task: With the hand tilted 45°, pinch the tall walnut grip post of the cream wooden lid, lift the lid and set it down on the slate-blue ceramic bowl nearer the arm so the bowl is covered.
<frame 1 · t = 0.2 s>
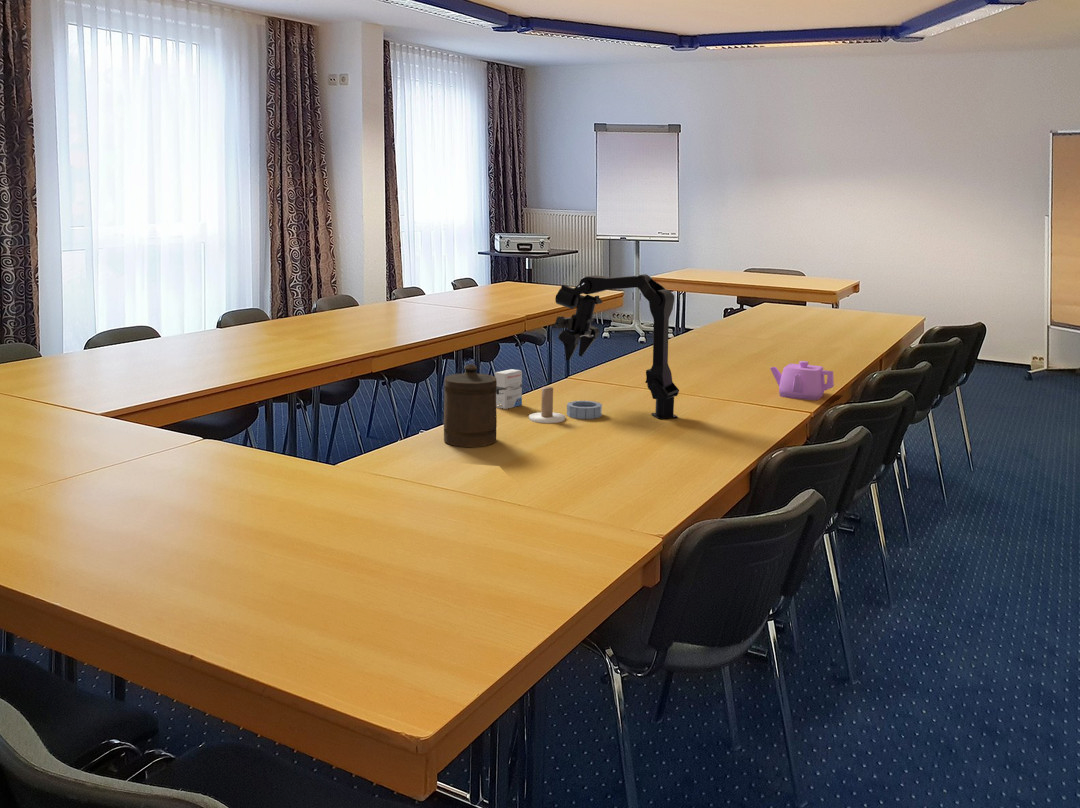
hand: (573, 358, 316), 15 cm above the table, tool pointing down, fingers open, 9 cm apart
ink box: (508, 406, 314), on the table
teakettle: (799, 396, 336), on the table
bowl: (584, 415, 303), on the table
wooden container: (470, 441, 270), on the table
lid: (546, 419, 297), on the table
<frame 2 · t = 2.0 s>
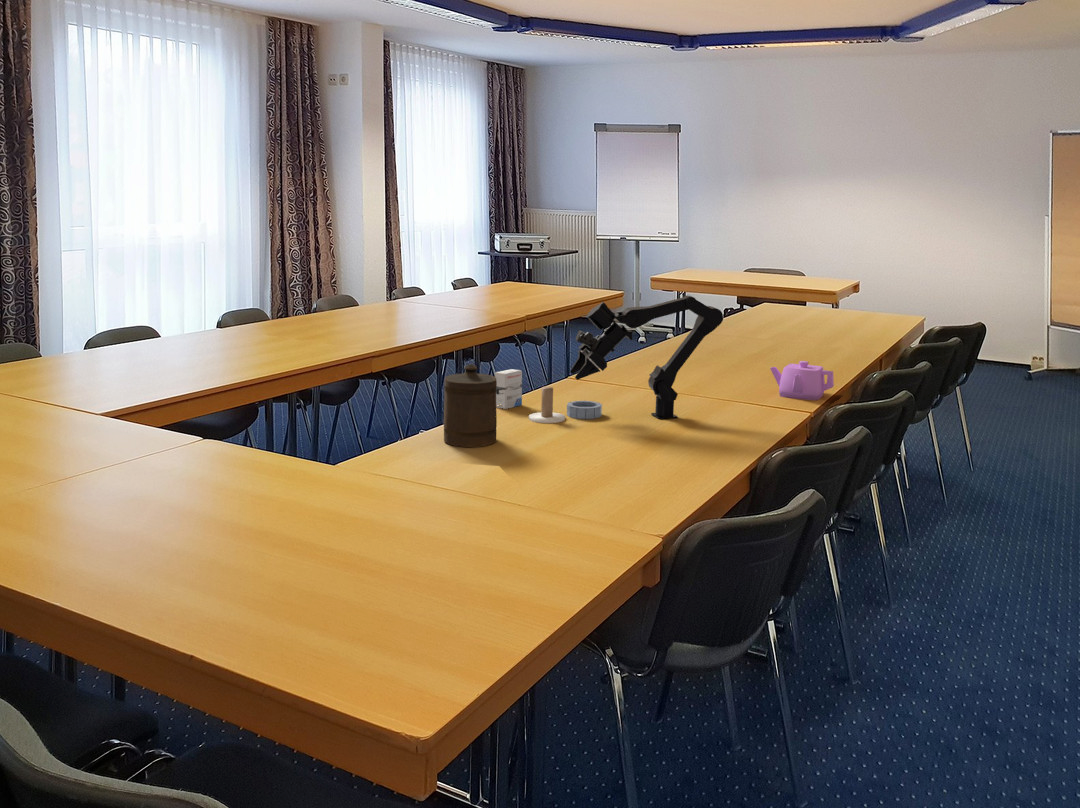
hand: (573, 375, 295), 13 cm above the table, tool tilted 45°, fingers open, 9 cm apart
nothing on the table moved.
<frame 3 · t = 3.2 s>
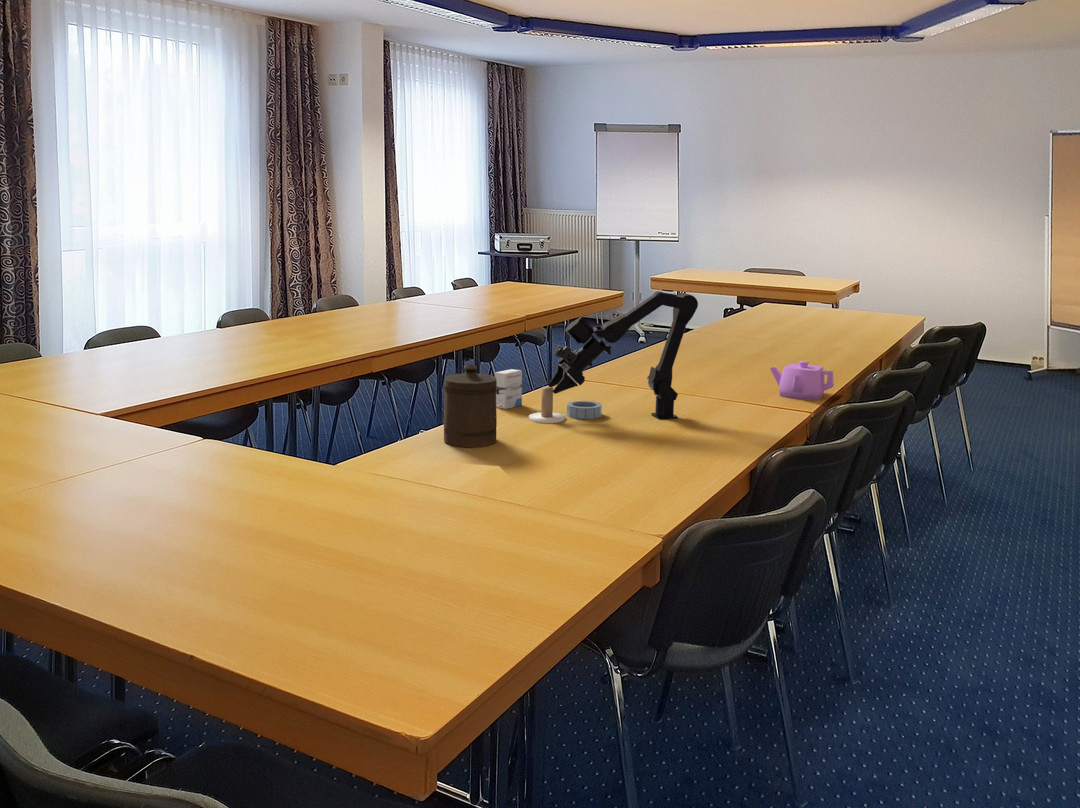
hand: (551, 389, 295), 9 cm above the table, tool tilted 45°, fingers open, 9 cm apart
nothing on the table moved.
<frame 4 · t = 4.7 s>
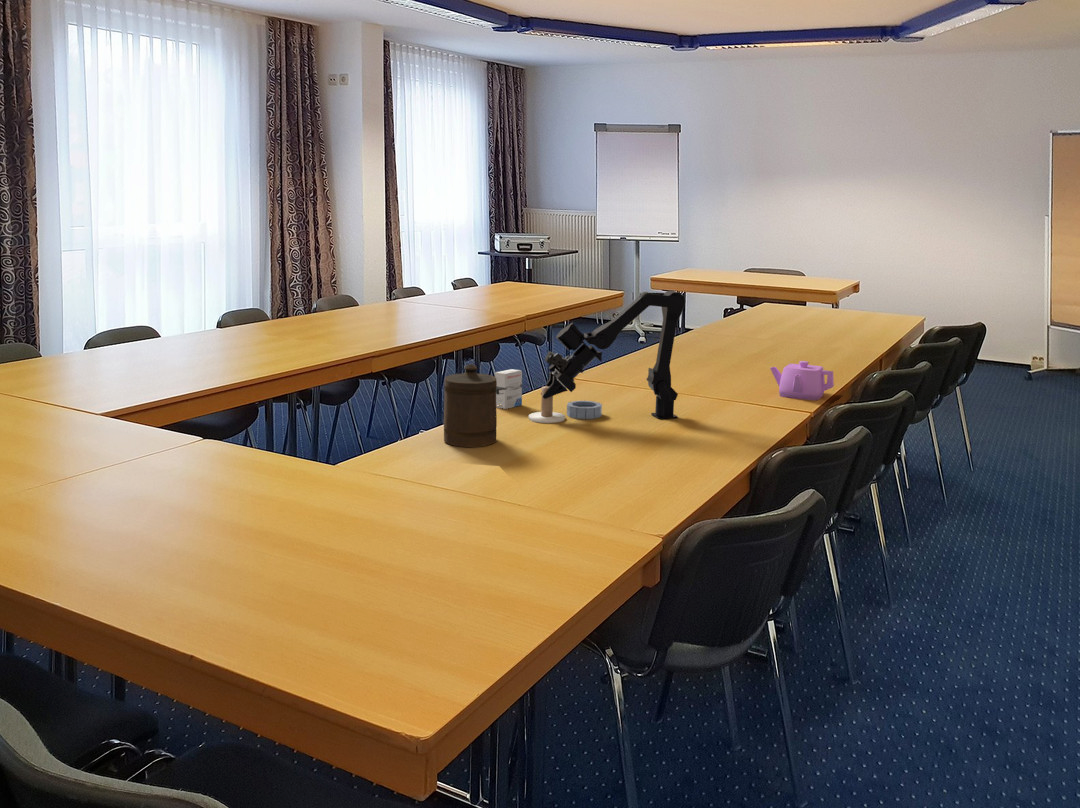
hand: (542, 396, 295), 7 cm above the table, tool tilted 45°, fingers closed on lid, 3 cm apart
lid: (546, 418, 297), on the table, touching gripper
everything else where it was.
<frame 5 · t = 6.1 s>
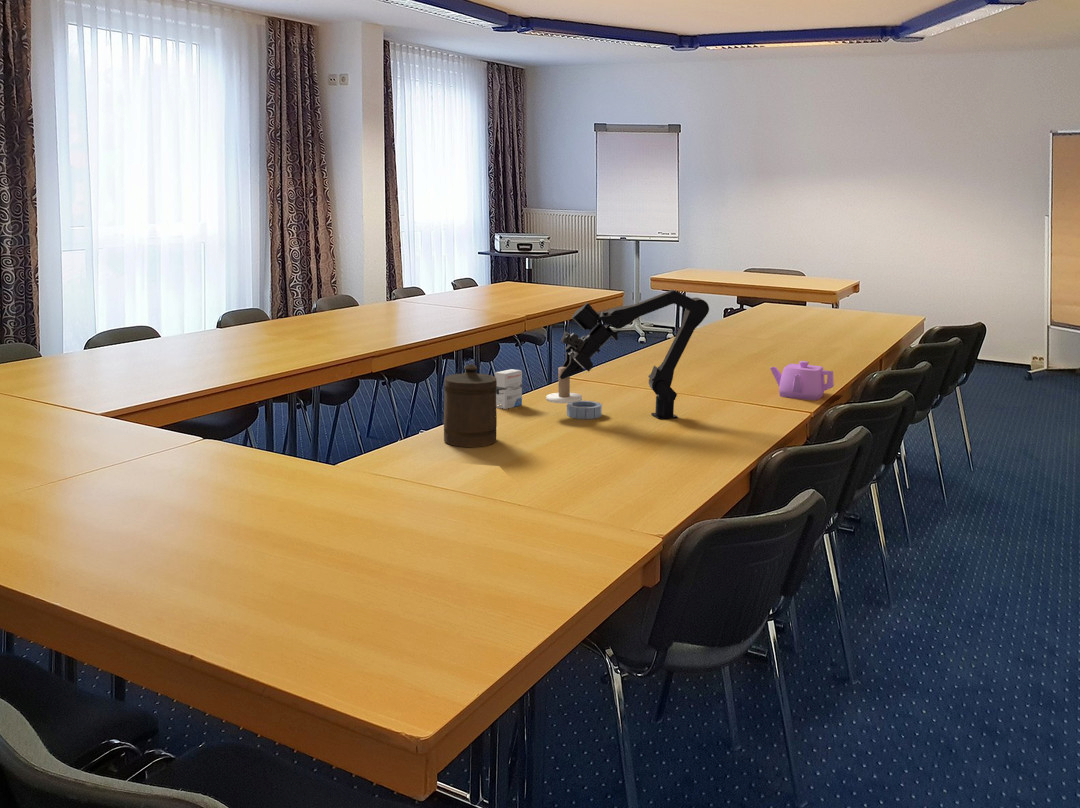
hand: (559, 376, 296), 13 cm above the table, tool tilted 45°, fingers closed on lid, 3 cm apart
lid: (564, 399, 298), point 6 cm above the table, touching gripper
everything else where it was.
when the fingers open (11 cm above the table, at t = 7.5 s): lid stays where it is, resting on bowl.
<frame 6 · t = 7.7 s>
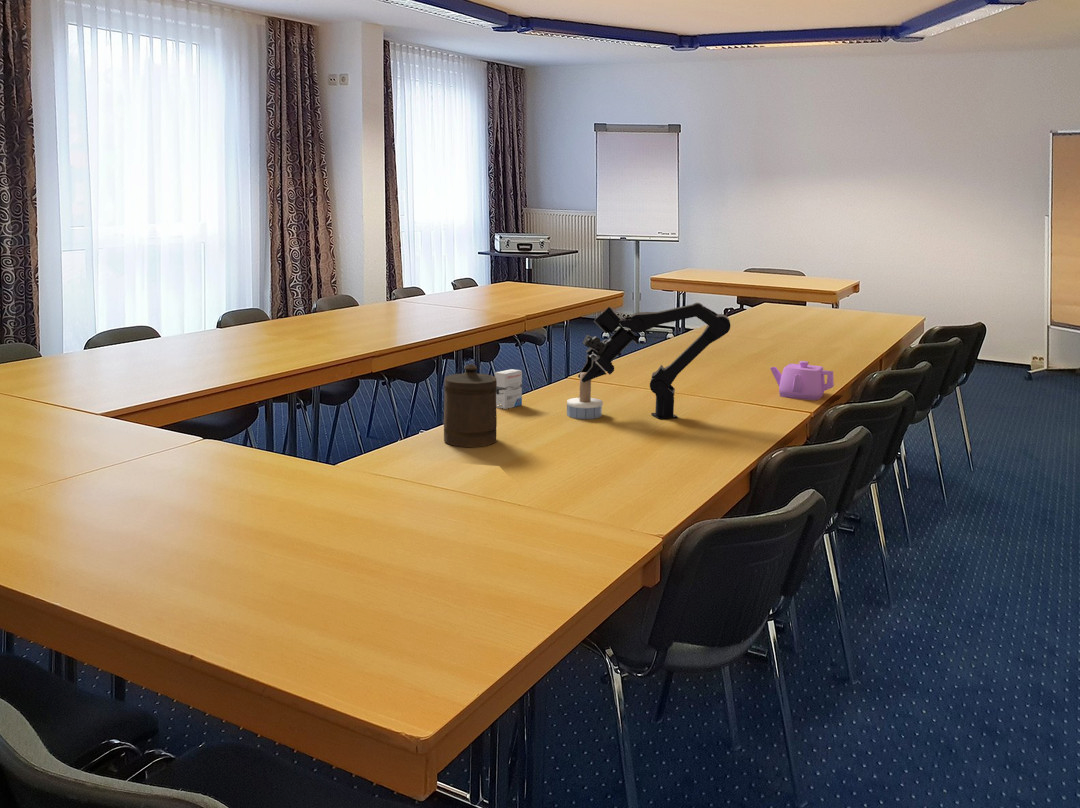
hand: (580, 379, 300), 12 cm above the table, tool tilted 45°, fingers open, 6 cm apart
lid: (584, 404, 302), point 3 cm above the table, touching bowl
everything else where it was.
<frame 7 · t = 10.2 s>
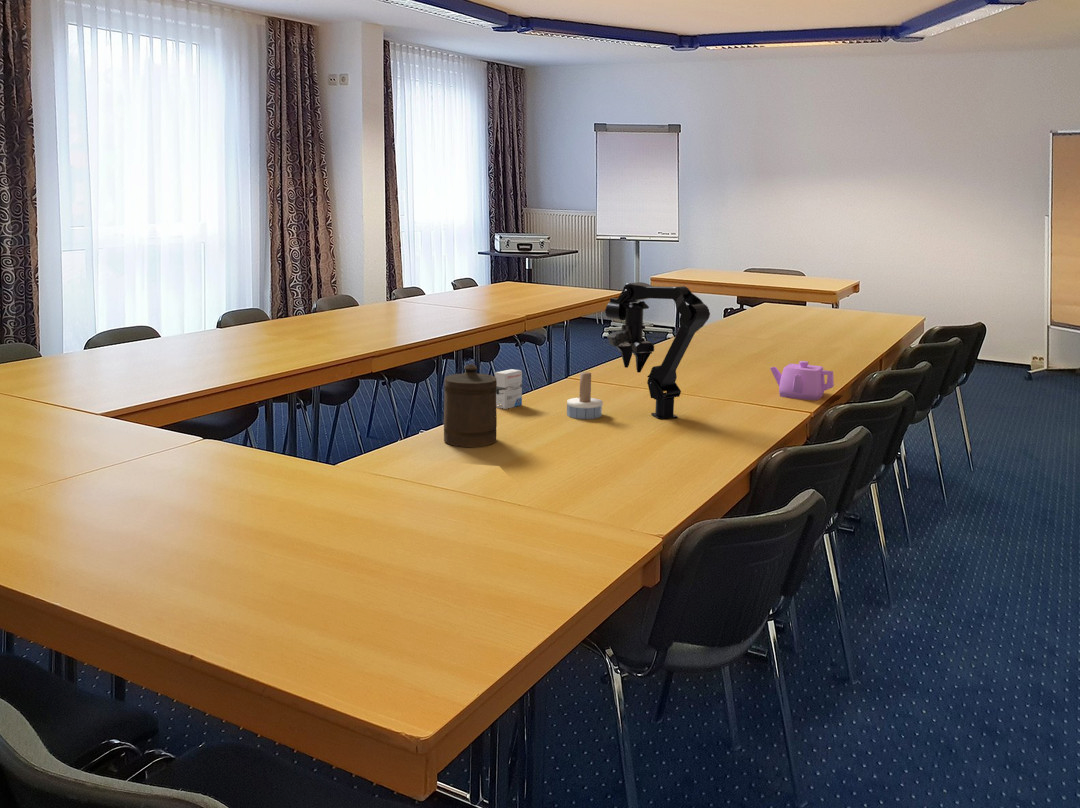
hand: (632, 369, 309), 13 cm above the table, tool pointing down, fingers open, 9 cm apart
nothing on the table moved.
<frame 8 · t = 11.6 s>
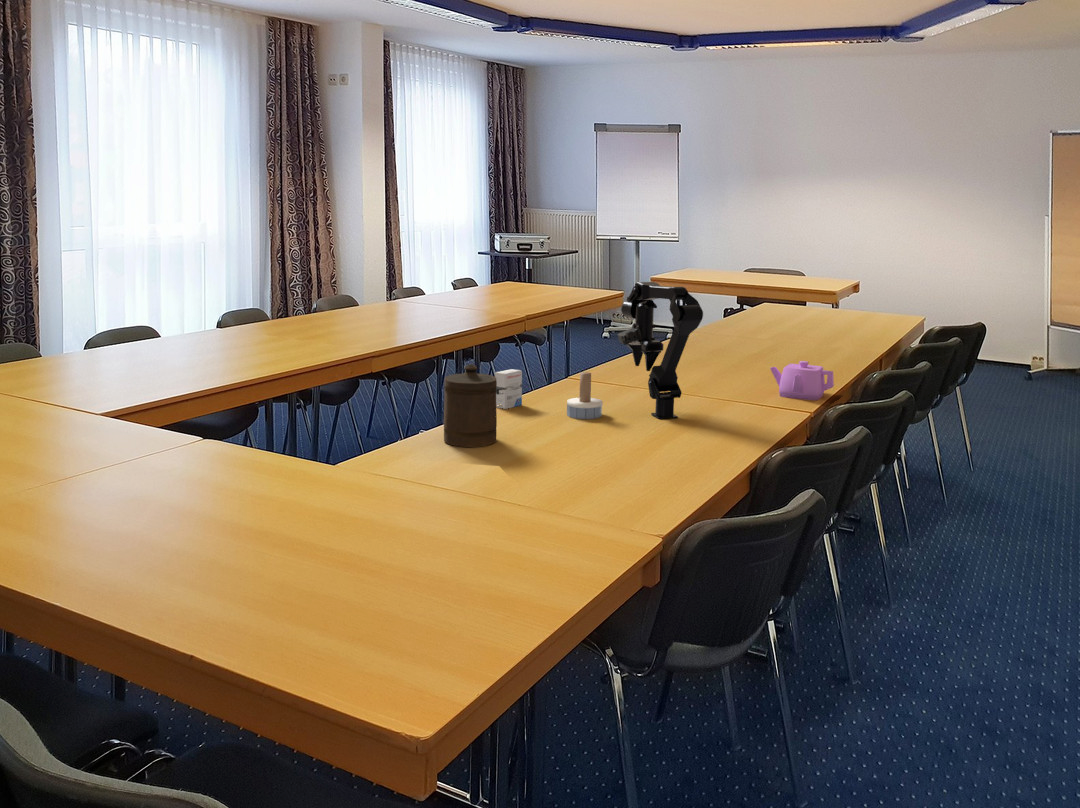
hand: (642, 368, 312), 13 cm above the table, tool pointing down, fingers open, 9 cm apart
nothing on the table moved.
at the end: lid 0.1 cm from the bowl (horizontally); lid touching bowl; lid tilted 0° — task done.
